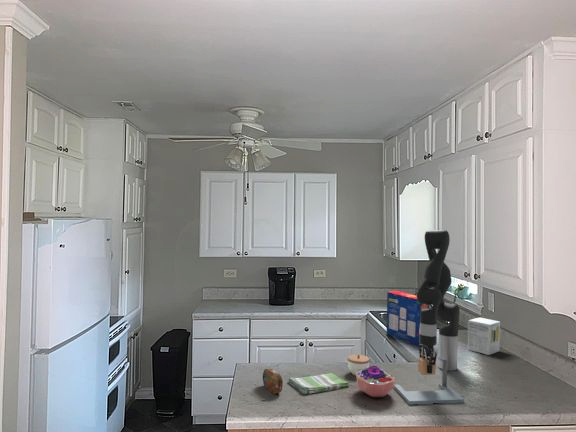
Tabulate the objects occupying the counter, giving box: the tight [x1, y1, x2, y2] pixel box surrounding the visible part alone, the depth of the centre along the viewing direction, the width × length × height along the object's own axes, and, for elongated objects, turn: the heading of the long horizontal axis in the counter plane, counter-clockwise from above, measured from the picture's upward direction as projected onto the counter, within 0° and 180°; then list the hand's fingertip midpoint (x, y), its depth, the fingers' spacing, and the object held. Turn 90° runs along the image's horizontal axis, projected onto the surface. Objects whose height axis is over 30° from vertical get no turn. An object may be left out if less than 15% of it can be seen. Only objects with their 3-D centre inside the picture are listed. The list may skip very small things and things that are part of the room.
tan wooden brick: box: [417, 357, 437, 376], centre depth 204 cm, size 5×6×6 cm
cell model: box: [355, 365, 396, 398], centre depth 199 cm, size 17×20×11 cm
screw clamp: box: [393, 357, 465, 406], centre depth 200 cm, size 20×24×14 cm
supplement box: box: [467, 317, 501, 356], centre depth 266 cm, size 13×13×18 cm
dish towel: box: [288, 372, 350, 395], centre depth 208 cm, size 17×23×4 cm
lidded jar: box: [347, 354, 370, 376], centre depth 223 cm, size 11×11×9 cm
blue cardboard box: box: [386, 290, 430, 347], centre depth 286 cm, size 28×8×28 cm, turn 30°
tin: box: [262, 368, 284, 395], centre depth 201 cm, size 15×3×8 cm, turn 29°
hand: (426, 371), depth 204 cm, fingers closed on tan wooden brick, 4 cm apart
